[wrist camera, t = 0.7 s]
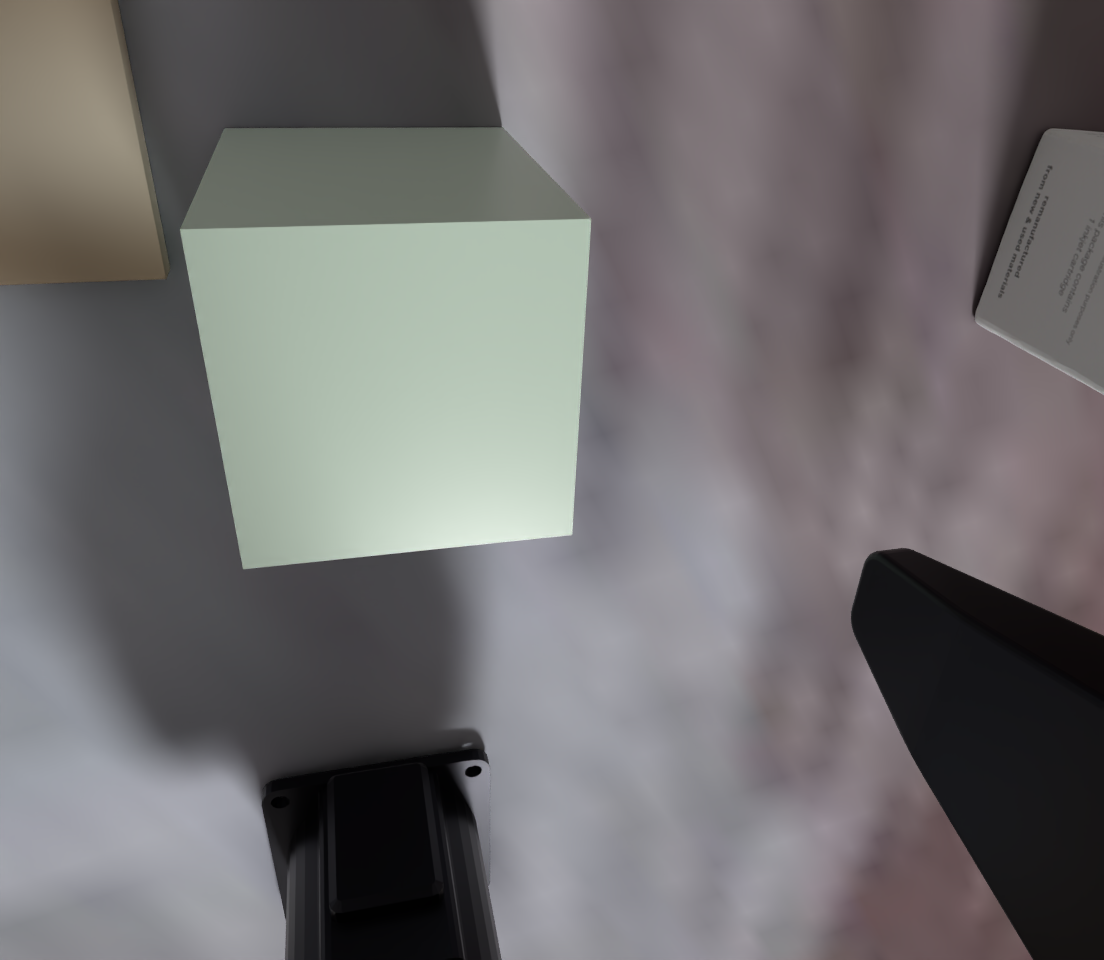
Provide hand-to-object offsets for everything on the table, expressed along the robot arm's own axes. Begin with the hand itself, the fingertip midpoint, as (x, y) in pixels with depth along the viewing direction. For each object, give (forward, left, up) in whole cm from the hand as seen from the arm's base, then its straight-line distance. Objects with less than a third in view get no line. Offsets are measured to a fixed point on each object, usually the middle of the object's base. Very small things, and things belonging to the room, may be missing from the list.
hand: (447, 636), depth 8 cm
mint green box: (0, 0, -12) cm, 12 cm away
